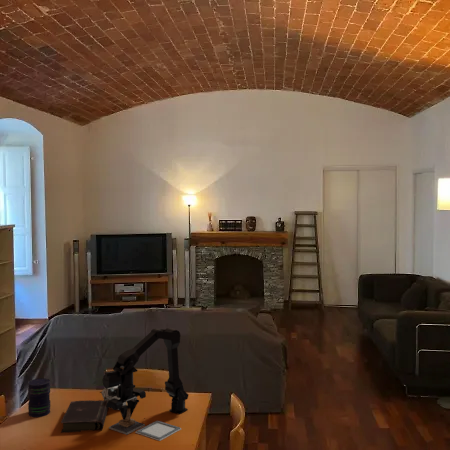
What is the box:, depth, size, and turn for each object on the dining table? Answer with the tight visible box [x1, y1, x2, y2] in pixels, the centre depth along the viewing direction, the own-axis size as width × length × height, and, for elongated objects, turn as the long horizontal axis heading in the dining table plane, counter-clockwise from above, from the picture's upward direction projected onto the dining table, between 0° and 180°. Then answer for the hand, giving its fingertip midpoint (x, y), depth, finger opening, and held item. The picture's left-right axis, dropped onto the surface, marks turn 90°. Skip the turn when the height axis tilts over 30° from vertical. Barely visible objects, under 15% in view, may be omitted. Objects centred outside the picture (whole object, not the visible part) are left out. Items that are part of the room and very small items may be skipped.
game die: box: [99, 387, 113, 401], centre depth 262 cm, size 9×8×10 cm
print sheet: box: [134, 420, 182, 441], centre depth 228 cm, size 14×14×1 cm
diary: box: [60, 399, 109, 434], centre depth 239 cm, size 19×25×5 cm
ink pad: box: [108, 420, 146, 435], centre depth 231 cm, size 11×11×1 cm
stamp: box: [118, 408, 136, 428], centre depth 231 cm, size 5×5×7 cm
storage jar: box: [27, 377, 52, 418], centre depth 247 cm, size 10×10×15 cm
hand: (126, 418), depth 231 cm, fingers closed on stamp, 3 cm apart
